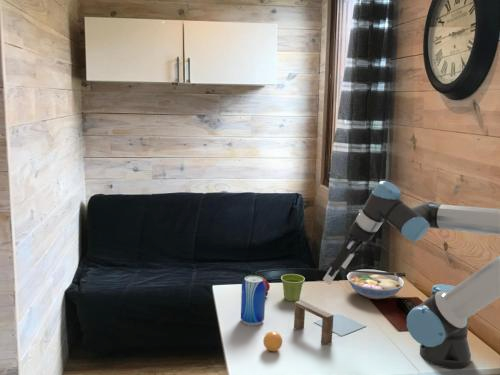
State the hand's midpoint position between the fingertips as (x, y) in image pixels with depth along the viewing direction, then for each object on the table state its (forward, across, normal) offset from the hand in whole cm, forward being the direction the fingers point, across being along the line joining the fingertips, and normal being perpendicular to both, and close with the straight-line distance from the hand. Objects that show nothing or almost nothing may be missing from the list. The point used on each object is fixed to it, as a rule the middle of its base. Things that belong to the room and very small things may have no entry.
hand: (334, 273), depth 174 cm
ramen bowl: (+23, -41, +14) cm, 48 cm away
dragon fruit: (+38, -14, -22) cm, 46 cm away
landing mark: (+20, -7, +10) cm, 24 cm away
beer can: (+32, +8, -14) cm, 36 cm away
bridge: (+21, +6, +6) cm, 23 cm away
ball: (+20, +22, -2) cm, 30 cm away
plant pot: (+33, -18, -11) cm, 39 cm away
